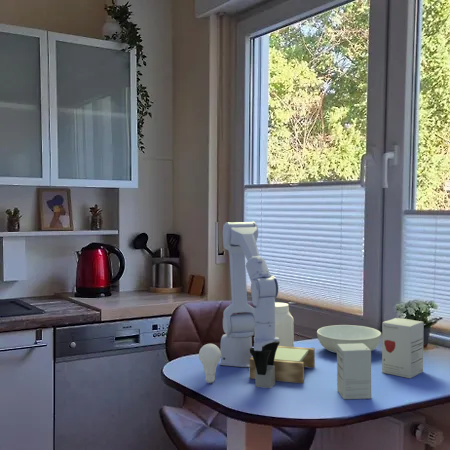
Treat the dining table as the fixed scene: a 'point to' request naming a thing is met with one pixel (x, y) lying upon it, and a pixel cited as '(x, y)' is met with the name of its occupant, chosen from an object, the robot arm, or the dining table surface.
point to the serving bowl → (348, 336)
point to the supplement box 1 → (354, 371)
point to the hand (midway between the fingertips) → (265, 370)
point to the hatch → (290, 354)
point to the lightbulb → (209, 360)
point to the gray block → (265, 378)
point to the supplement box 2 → (402, 347)
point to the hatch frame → (289, 367)
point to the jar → (284, 325)
